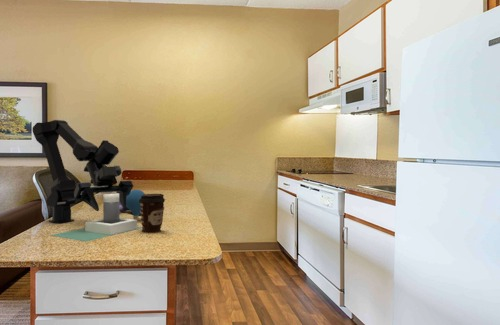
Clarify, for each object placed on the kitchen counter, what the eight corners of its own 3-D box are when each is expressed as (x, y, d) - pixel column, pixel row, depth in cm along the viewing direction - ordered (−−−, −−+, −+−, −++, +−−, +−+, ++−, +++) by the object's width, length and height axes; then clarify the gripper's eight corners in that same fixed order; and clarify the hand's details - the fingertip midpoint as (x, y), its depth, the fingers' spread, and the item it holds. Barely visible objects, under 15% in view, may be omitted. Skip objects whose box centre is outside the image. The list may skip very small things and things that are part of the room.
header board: (49, 238, 123) (49, 225, 123) (109, 225, 145) (109, 214, 145) (86, 244, 116) (86, 231, 116) (143, 230, 138) (143, 218, 137)
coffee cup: (170, 232, 135) (170, 193, 135) (156, 237, 127) (156, 196, 127) (147, 230, 138) (148, 192, 137) (133, 235, 130) (133, 195, 130)
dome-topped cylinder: (100, 230, 132) (99, 194, 131) (111, 227, 136) (111, 192, 135) (111, 232, 129) (111, 195, 129) (122, 229, 134) (122, 193, 133)
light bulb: (140, 223, 151) (141, 191, 150) (120, 221, 152) (120, 190, 152) (150, 219, 159) (151, 189, 158) (131, 218, 160) (131, 188, 160)
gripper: (77, 157, 129) (90, 195, 121) (131, 157, 142) (146, 191, 134) (68, 180, 135) (80, 217, 128) (121, 178, 148) (135, 212, 140)
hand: (111, 209), depth 132 cm, fingers open, 9 cm apart
